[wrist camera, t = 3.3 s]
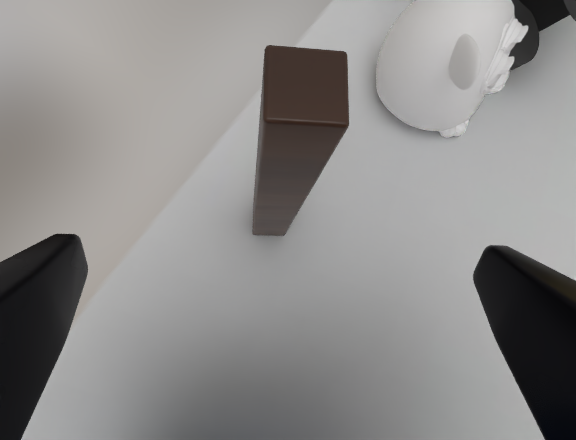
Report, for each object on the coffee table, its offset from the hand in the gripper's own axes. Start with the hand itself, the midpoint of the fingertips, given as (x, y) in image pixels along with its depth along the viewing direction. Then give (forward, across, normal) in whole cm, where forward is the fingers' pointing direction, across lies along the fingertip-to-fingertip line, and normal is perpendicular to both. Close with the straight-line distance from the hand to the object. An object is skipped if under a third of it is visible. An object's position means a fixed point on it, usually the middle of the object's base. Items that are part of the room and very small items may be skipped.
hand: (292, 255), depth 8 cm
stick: (+9, 0, +5) cm, 10 cm away
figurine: (+15, -9, -1) cm, 17 cm away
